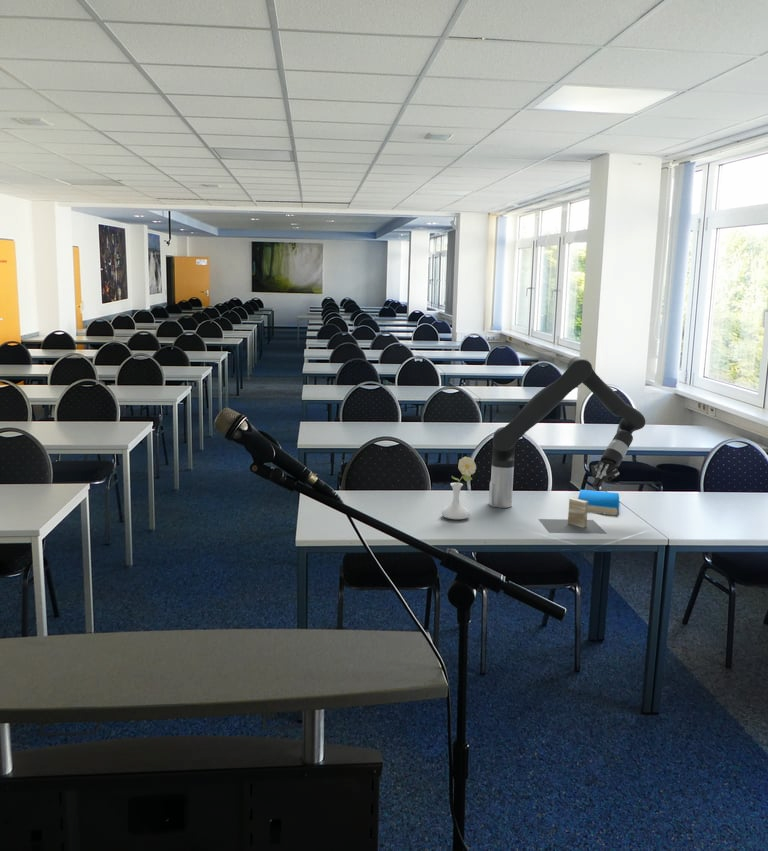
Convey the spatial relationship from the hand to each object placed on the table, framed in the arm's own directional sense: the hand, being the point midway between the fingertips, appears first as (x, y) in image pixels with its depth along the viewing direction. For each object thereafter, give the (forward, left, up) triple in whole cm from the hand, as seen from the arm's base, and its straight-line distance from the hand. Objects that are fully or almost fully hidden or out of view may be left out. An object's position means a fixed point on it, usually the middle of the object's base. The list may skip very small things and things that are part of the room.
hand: (595, 487), depth 310 cm
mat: (-11, -8, -14) cm, 19 cm away
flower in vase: (-54, +3, -14) cm, 56 cm away
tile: (-8, -7, -13) cm, 17 cm away
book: (+10, +25, -15) cm, 31 cm away
